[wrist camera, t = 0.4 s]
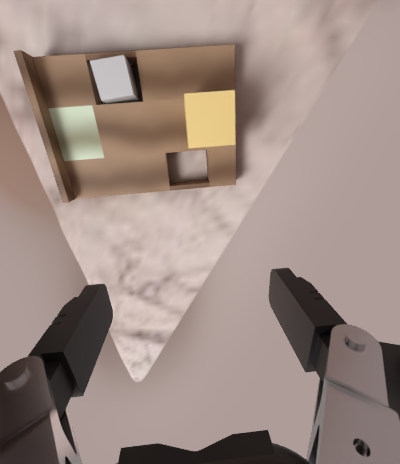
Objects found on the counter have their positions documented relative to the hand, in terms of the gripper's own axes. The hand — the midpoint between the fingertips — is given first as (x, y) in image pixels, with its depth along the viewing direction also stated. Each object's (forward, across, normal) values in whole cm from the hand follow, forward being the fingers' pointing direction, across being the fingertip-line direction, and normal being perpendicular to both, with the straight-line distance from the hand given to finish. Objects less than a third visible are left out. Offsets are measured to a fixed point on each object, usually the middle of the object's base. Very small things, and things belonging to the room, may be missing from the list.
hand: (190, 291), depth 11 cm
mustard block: (+24, -4, -9) cm, 26 cm away
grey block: (+27, +8, -14) cm, 31 cm away
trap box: (+27, +4, -8) cm, 28 cm away
